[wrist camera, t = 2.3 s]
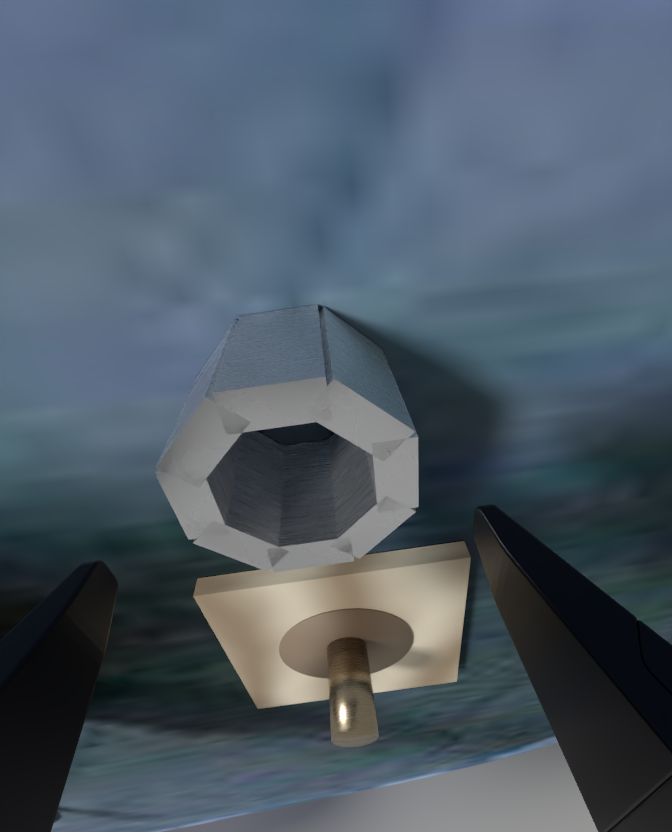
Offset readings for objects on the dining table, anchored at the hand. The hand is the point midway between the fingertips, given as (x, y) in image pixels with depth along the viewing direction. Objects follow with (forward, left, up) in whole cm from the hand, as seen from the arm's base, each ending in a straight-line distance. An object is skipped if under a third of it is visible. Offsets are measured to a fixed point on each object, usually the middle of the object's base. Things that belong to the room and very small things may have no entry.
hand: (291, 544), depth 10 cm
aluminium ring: (0, 0, -7) cm, 7 cm away
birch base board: (0, -17, -7) cm, 18 cm away
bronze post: (0, -17, -7) cm, 18 cm away
